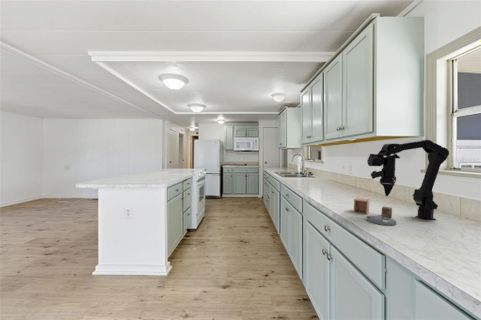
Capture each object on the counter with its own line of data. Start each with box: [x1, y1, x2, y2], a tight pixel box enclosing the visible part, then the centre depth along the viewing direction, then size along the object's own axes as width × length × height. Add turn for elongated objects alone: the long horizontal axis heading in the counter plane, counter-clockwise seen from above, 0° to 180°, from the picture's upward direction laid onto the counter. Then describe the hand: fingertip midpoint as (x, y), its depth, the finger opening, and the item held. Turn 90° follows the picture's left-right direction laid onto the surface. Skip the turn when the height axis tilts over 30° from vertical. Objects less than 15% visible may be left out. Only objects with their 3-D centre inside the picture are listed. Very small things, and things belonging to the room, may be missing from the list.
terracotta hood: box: [353, 197, 371, 215], centre depth 134 cm, size 7×7×8 cm
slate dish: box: [365, 215, 397, 227], centre depth 116 cm, size 13×13×1 cm
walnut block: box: [381, 206, 393, 219], centre depth 125 cm, size 4×4×5 cm
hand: (387, 194), depth 125 cm, fingers open, 9 cm apart
